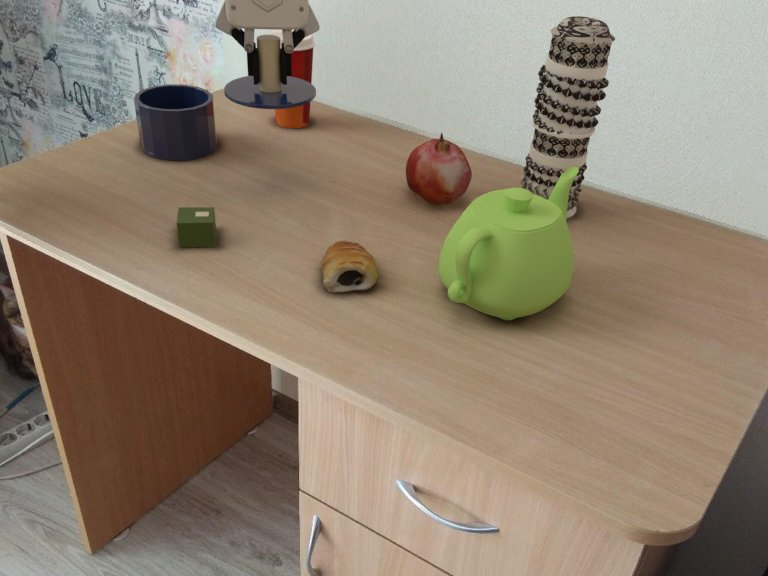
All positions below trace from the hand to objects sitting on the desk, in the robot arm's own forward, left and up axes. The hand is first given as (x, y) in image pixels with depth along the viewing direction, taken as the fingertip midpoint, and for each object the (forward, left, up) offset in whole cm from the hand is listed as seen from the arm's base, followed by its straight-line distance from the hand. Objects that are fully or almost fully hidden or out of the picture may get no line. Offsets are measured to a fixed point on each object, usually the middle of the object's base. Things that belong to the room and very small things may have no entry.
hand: (270, 80), depth 103 cm
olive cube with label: (-10, -16, -15) cm, 24 cm away
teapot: (+27, -30, -15) cm, 43 cm away
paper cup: (+4, +24, -15) cm, 29 cm away
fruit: (+23, -5, -15) cm, 28 cm away
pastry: (+8, -26, -15) cm, 31 cm away
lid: (0, 0, -2) cm, 2 cm away
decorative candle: (+39, -8, -15) cm, 42 cm away
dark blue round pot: (-14, +14, -15) cm, 25 cm away
